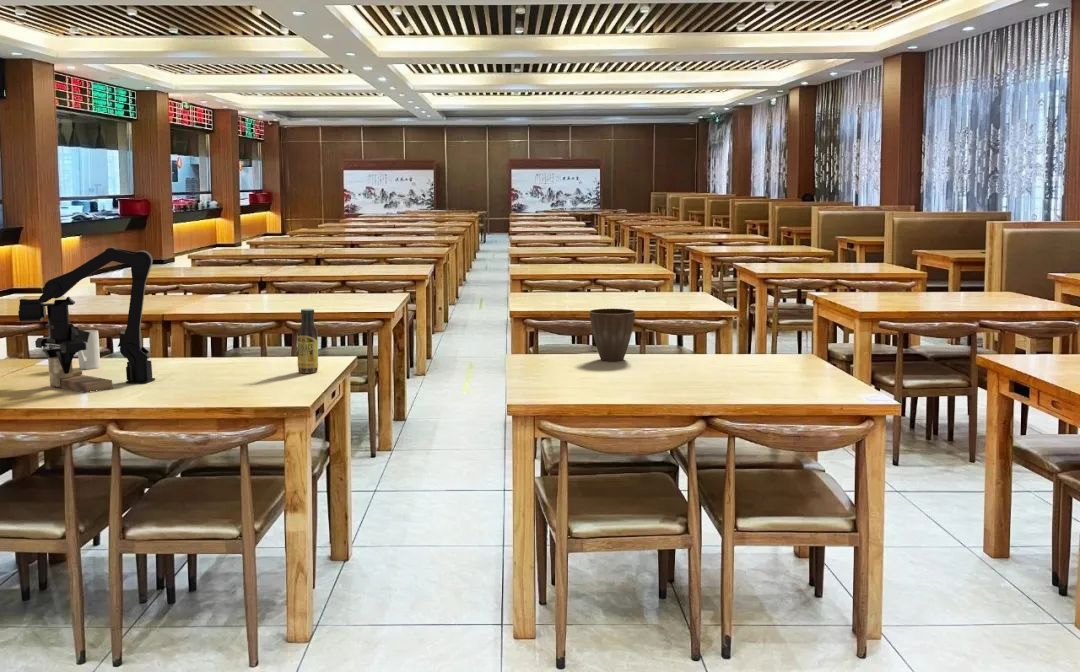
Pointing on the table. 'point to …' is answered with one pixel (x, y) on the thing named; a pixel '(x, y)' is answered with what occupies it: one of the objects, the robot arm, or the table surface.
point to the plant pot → (612, 332)
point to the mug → (90, 352)
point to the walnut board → (85, 383)
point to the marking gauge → (59, 371)
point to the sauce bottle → (307, 343)
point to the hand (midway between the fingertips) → (62, 372)
